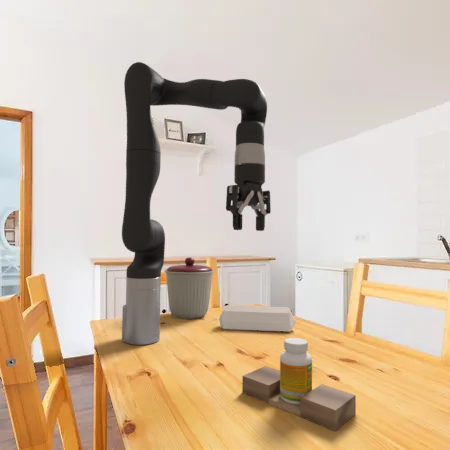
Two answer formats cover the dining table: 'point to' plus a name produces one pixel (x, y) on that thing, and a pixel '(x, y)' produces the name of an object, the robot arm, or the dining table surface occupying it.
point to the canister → (189, 289)
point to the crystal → (257, 318)
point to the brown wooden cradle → (302, 399)
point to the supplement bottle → (295, 370)
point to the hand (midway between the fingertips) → (249, 230)
